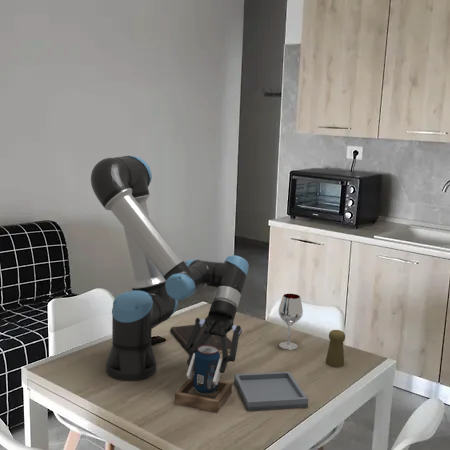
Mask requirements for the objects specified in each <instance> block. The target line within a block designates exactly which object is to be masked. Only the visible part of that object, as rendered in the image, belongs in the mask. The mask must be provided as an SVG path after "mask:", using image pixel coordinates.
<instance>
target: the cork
mask: <svg viewBox="0 0 450 450" xmlns="http://www.w3.org/2000/svg"><path fill="white" fill-rule="evenodd" d="M328 338H329V339H328V340H329V345H328V348H327V354H326V358H325V362H324V363H325V365H327V366H329V367H333V368H342V367H344V366H345V353H344V351H345V349H344V341H346V334H345V332H344V331H342V330H340V329H332V330H331V331H329V334H328Z"/></svg>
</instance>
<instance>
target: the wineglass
mask: <svg viewBox="0 0 450 450" xmlns="http://www.w3.org/2000/svg"><path fill="white" fill-rule="evenodd" d="M278 307H279V308H278V315H279V317H280V319H281V320H282V321H283V322H284V323H285V324H286V325H287V326H288V327H287V328H288V329H287V340H286V341H282V342H280V343H279V344H278V345H279V347H280V348H281V349H283V350H287V351H288V350H289V351H293V350H296V349H298V347H299V346H298V344H296V343H294V342H292V341H291V328H292V327H293V325H294V324H295V323H297V322H298V321H300V320H301V318H302V317H303V313H304V311H303V304H302V299H301V295H299V294H297V293H296V294H295V293H284V294H283V295H282V298H281V301H280V304H279V306H278Z"/></svg>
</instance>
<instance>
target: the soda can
mask: <svg viewBox="0 0 450 450" xmlns="http://www.w3.org/2000/svg"><path fill="white" fill-rule="evenodd" d="M219 358H220V359H221V353H219V352H218V348H217V347H215V346H213V345H201V346H199V347H198V348H197V351H196V353H195V362H194V372H193V375H194V379H193V386H194V387H193V388H194V389H195V391H196V393H199V394H201V395H210V394H213V393H215V392H216V391H215V390H216V389H217V388H218V384H217V385H215V384H214V383H213V378H214V375H215V372H216V368H217V365H218V361H219Z"/></svg>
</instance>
